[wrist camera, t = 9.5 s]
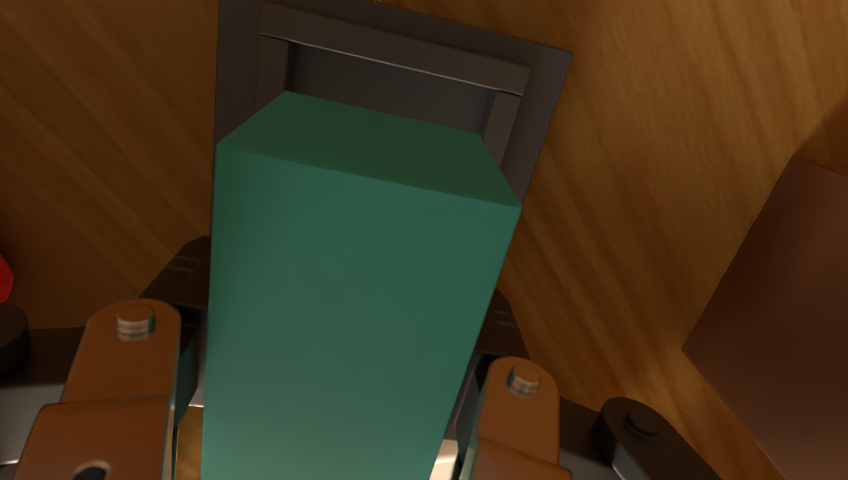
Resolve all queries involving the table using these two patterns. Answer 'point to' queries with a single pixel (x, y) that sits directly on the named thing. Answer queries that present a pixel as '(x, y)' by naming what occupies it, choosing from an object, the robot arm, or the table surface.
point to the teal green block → (345, 290)
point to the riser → (787, 326)
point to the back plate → (390, 72)
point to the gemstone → (5, 279)
